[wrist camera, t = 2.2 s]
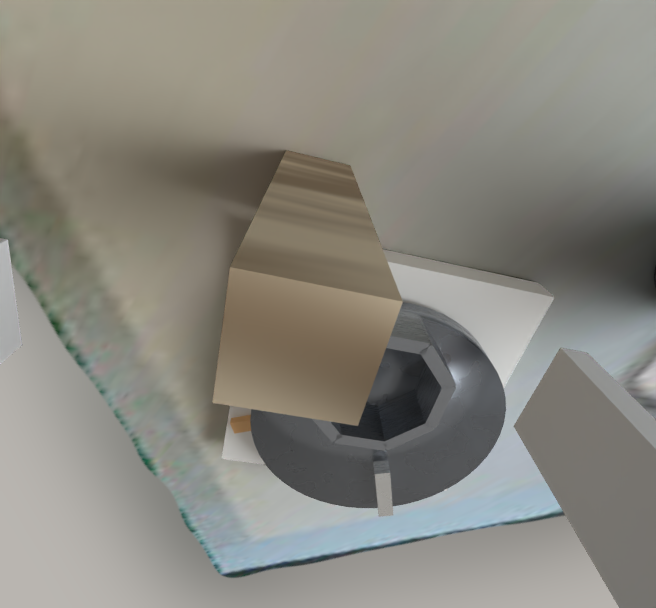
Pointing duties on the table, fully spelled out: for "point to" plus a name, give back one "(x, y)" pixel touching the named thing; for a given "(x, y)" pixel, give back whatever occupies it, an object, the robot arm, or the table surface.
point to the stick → (307, 299)
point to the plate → (458, 304)
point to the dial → (396, 423)
